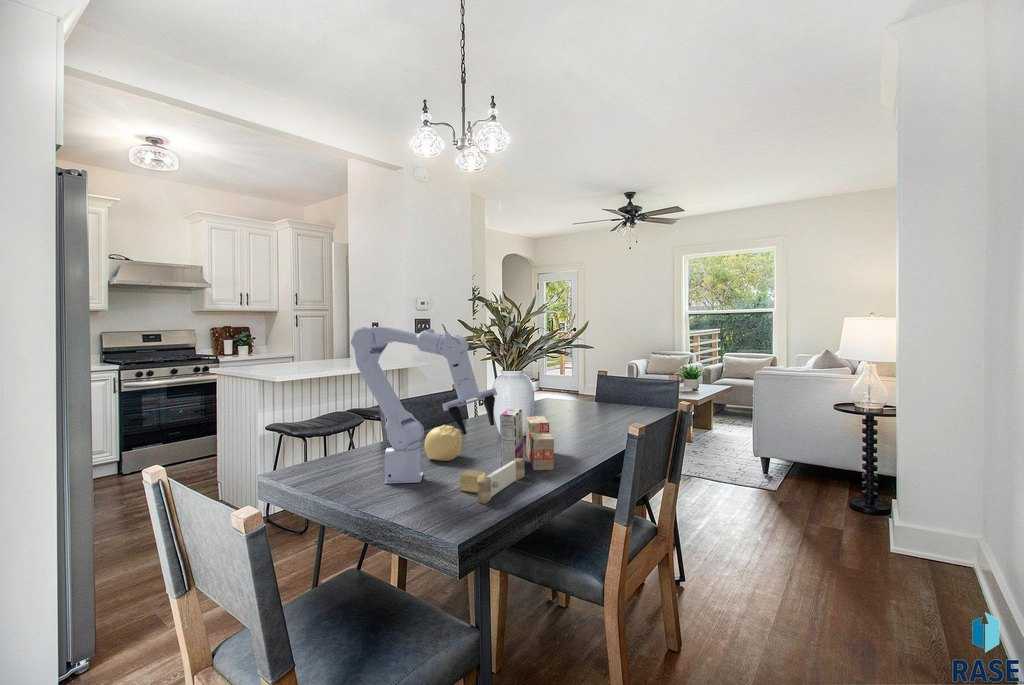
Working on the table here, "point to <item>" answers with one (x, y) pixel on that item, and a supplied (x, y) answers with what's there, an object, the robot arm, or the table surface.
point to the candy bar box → (511, 435)
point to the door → (502, 477)
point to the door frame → (485, 484)
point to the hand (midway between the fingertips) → (478, 429)
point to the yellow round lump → (443, 443)
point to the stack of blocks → (539, 443)
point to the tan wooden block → (470, 481)
